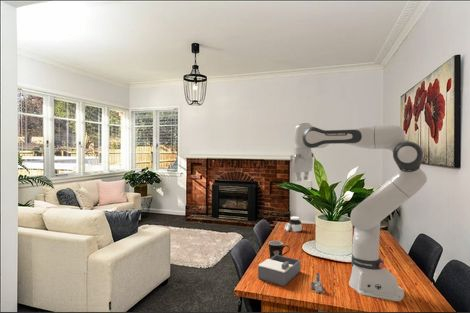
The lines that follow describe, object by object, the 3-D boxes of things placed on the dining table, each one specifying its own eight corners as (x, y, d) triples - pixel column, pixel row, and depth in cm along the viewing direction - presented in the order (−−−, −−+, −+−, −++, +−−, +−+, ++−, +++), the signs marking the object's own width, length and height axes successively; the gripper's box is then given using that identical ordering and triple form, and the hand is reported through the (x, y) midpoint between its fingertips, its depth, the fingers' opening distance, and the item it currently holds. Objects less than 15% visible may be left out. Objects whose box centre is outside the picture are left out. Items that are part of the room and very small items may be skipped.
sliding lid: (292, 265, 136) (292, 260, 136) (284, 273, 128) (284, 267, 128) (267, 259, 144) (267, 254, 144) (258, 266, 136) (258, 261, 136)
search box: (300, 271, 145) (300, 260, 145) (284, 286, 128) (284, 273, 128) (276, 265, 153) (276, 254, 153) (258, 278, 136) (258, 266, 136)
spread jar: (303, 232, 217) (303, 218, 217) (292, 235, 211) (292, 219, 211) (292, 229, 227) (292, 215, 227) (282, 231, 221) (282, 216, 221)
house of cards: (302, 283, 132) (302, 267, 132) (321, 284, 131) (321, 268, 131) (303, 292, 124) (303, 275, 123) (323, 294, 122) (324, 276, 122)
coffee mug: (266, 261, 158) (266, 244, 158) (271, 256, 166) (271, 239, 166) (285, 265, 153) (285, 247, 153) (290, 260, 161) (290, 242, 161)
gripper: (301, 154, 135) (301, 182, 135) (314, 154, 152) (314, 179, 152) (289, 154, 139) (289, 181, 139) (303, 154, 156) (303, 178, 156)
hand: (302, 180), depth 146 cm, fingers open, 8 cm apart
